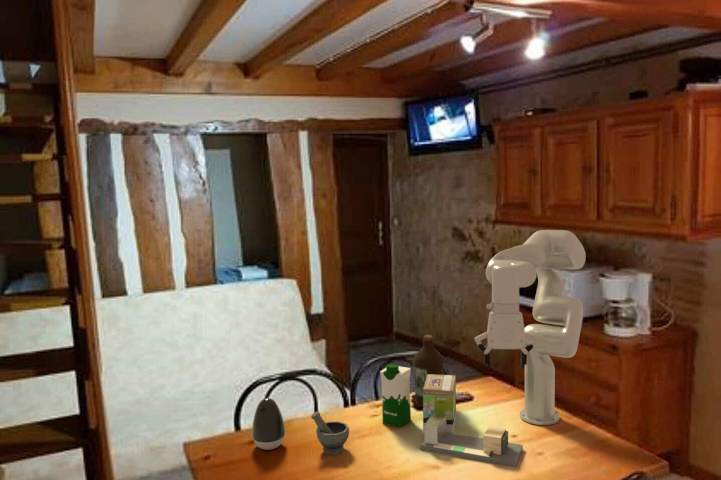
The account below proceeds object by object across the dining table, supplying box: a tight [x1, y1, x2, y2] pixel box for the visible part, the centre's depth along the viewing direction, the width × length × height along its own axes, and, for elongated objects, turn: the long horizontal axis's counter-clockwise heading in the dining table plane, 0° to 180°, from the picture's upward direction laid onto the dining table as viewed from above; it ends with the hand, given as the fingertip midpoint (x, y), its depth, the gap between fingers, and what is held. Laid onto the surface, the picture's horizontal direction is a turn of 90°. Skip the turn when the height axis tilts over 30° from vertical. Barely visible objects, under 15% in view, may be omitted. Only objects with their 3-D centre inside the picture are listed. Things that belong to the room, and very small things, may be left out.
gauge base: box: [420, 432, 524, 468], centre depth 176 cm, size 11×28×2 cm, turn 65°
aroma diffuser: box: [251, 397, 286, 451], centre depth 182 cm, size 10×10×15 cm
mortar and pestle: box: [310, 411, 350, 455], centre depth 178 cm, size 11×9×12 cm
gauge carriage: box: [482, 425, 509, 457], centre depth 171 cm, size 10×6×5 cm, turn 155°
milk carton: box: [379, 363, 412, 429], centre depth 196 cm, size 9×9×20 cm
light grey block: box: [423, 414, 447, 446], centre depth 180 cm, size 9×4×6 cm, turn 155°
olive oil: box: [412, 334, 444, 407], centre depth 210 cm, size 11×11×25 cm
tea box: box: [422, 374, 457, 434], centre depth 193 cm, size 15×10×15 cm, turn 168°
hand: (505, 366), depth 169 cm, fingers open, 9 cm apart
